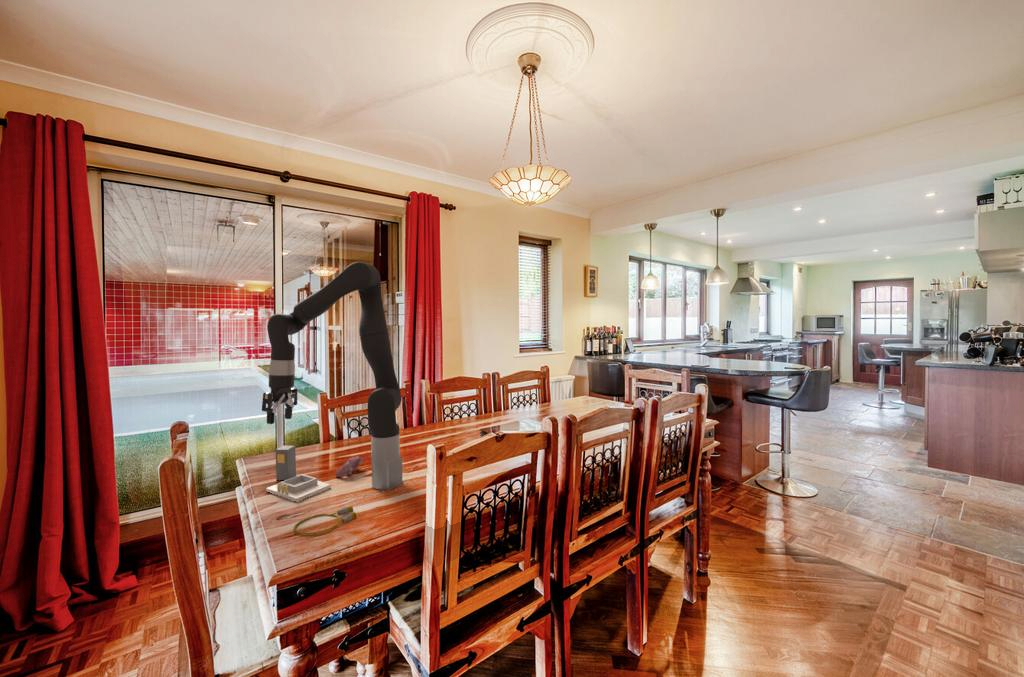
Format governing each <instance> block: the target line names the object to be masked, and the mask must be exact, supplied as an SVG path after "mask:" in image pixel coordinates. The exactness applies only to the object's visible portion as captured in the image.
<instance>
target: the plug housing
mask: <svg viewBox="0 0 1024 677" xmlns="http://www.w3.org/2000/svg"><path fill="white" fill-rule="evenodd" d="M296 459H297V458H296V445H282V446H280V447H278V448H276V449H275V476H276V477H275V478H276V481H277V480H287V479H290V478H293V477H295V476H297V461H296Z"/></svg>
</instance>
